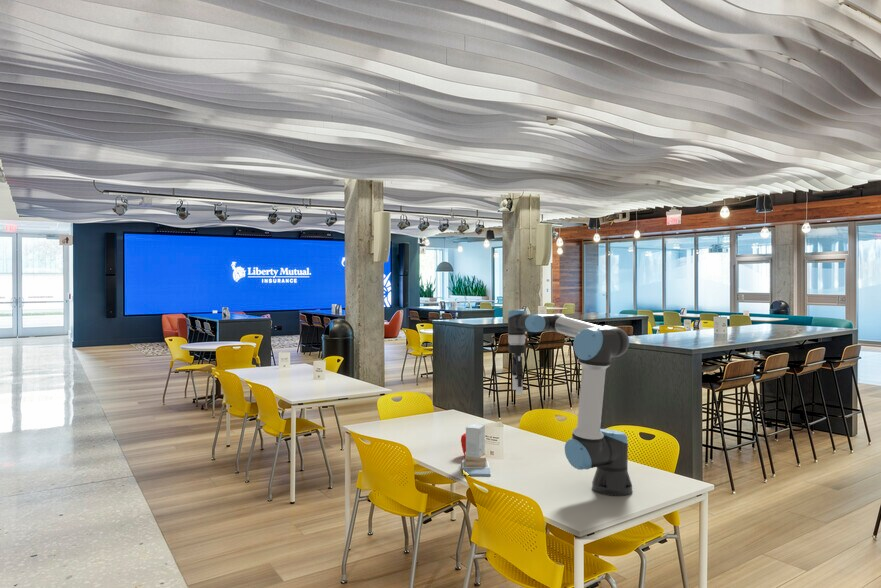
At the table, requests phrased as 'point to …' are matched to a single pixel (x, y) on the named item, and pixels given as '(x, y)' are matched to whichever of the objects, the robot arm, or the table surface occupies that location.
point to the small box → (475, 440)
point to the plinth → (475, 461)
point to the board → (477, 470)
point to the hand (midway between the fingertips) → (517, 392)
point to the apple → (463, 443)
